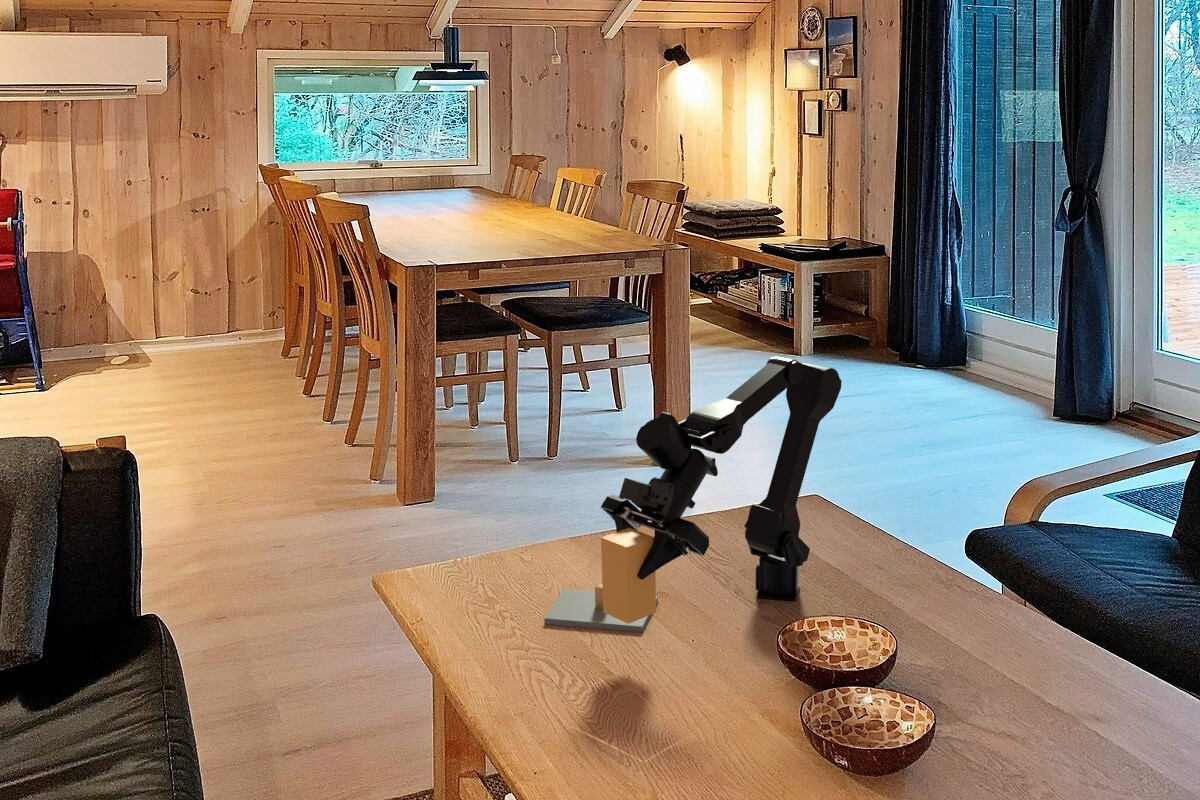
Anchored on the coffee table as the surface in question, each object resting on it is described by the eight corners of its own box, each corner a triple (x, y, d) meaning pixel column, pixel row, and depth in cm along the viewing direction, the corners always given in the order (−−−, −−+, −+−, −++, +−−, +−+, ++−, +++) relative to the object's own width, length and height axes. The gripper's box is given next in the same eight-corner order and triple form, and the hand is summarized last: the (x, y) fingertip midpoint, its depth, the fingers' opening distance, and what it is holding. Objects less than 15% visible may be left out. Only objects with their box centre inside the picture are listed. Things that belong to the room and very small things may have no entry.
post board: (657, 601, 214) (657, 576, 213) (642, 632, 203) (641, 605, 201) (564, 594, 218) (564, 569, 217) (544, 623, 207) (543, 597, 205)
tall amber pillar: (630, 601, 197) (629, 527, 194) (656, 612, 193) (654, 537, 190) (603, 612, 194) (601, 537, 191) (628, 623, 190) (626, 547, 187)
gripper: (608, 444, 197) (554, 530, 193) (694, 470, 184) (639, 564, 179) (646, 481, 204) (596, 565, 200) (733, 509, 191) (680, 600, 187)
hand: (625, 572), depth 191 cm, fingers closed on tall amber pillar, 6 cm apart
